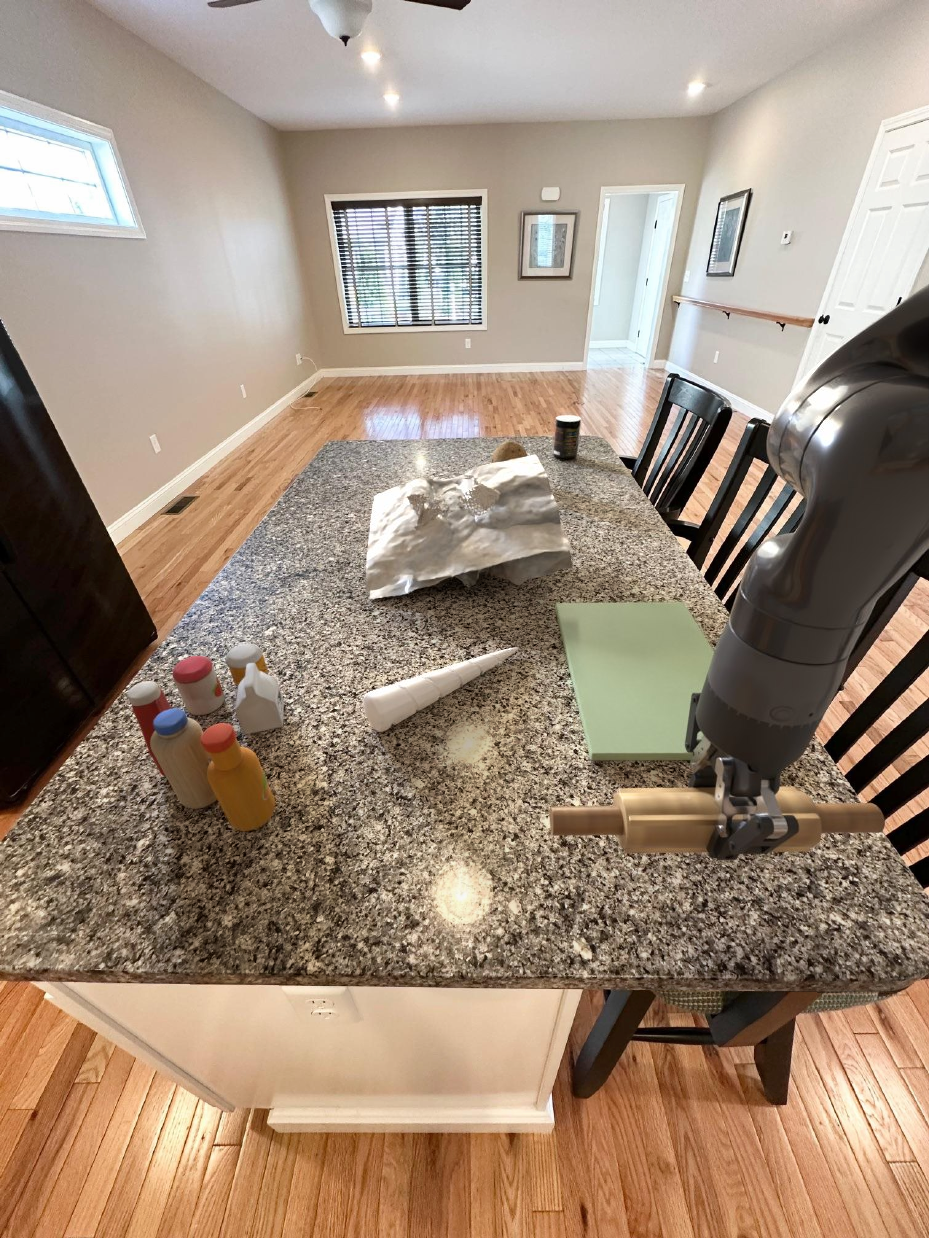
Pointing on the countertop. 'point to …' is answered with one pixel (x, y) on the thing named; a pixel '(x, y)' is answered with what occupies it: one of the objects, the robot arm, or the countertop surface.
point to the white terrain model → (466, 529)
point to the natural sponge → (508, 452)
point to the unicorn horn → (424, 690)
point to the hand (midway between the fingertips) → (708, 825)
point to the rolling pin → (702, 819)
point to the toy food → (213, 735)
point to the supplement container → (566, 437)
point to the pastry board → (634, 675)
